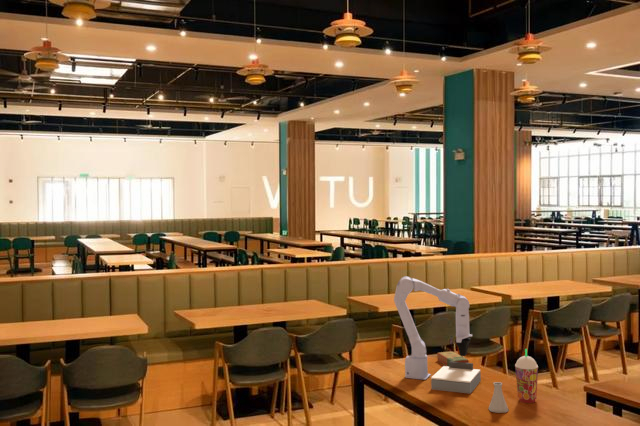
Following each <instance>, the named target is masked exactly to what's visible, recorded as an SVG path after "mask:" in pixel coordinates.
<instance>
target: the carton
mask: <svg viewBox="0 0 640 426" xmlns="http://www.w3.org/2000/svg"><path fill="white" fill-rule="evenodd" d="M437 361H438V362H439V363H441V364H443V366H448V367H449V362H450V361H453V362H464V363H470V362H469V359H468V358H466V357H465V356H460V354H459V353H456V352H455V351H443V352H442V351H441V352H437Z"/></svg>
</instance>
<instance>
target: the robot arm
mask: <svg viewBox="0 0 640 426" xmlns="http://www.w3.org/2000/svg"><path fill="white" fill-rule="evenodd" d="M395 287H396V288H395V292H394V297H393V302H394V304H395V307H396V310H397V312H398V315H399V316H400V319H401V321H402V325H403V327H404V330H405V332H406V335H407V337H408V340H409V343H410V347H411V354H410V355H406V357H405V360H404V371H405V372H404V375H405V376H404V379H405V378H406V379H414V380H415V379H416V380H424V381H425V380H427V379H428V378H430V377H431V375H432V374H431V373H429V371H428V355H427V347H426V343H425V341H424V340H423V339H422V338H421V336H420V334H419V332H418V329H417V327H416V324H415V322H414V319H413V316H412V314H411V312H410V309H409V307H408V305H407V302H406V300H407V298H408V296H409V294H411V292H412V291H414V292H418V291H421V292H425V293H427V294H430V295H432V296H435V297H437V298H438V301H439V302H441V303H444V304H446V305H449V306H450V307H455V337H456V339H455V340H454V341H455V343H456V346H457V348H458V352H459V355H460V356H462V357H466V356H467V354H468V349H469V344H470V342H471V338H472V337H473V333H471V332H470V331H471V330H470V313H469V312H470V311H469V309H470V307H471V306H470V305H471V304H470V302H469V300H468V299H467V297H466V296H464V295H463V294H462V295H461V293H456V292H453V291H451V289H449V288H443V289H439V288H437V287H434V285H433V286H432V285H430V284H429V283H427V282H424V281H422V280H419V279H417V278H414V277H410V276H407V275H403V276H402V277H401V278H400V279H399V280H398V282H397V284H396V286H395ZM470 333H471V334H470Z"/></svg>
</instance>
